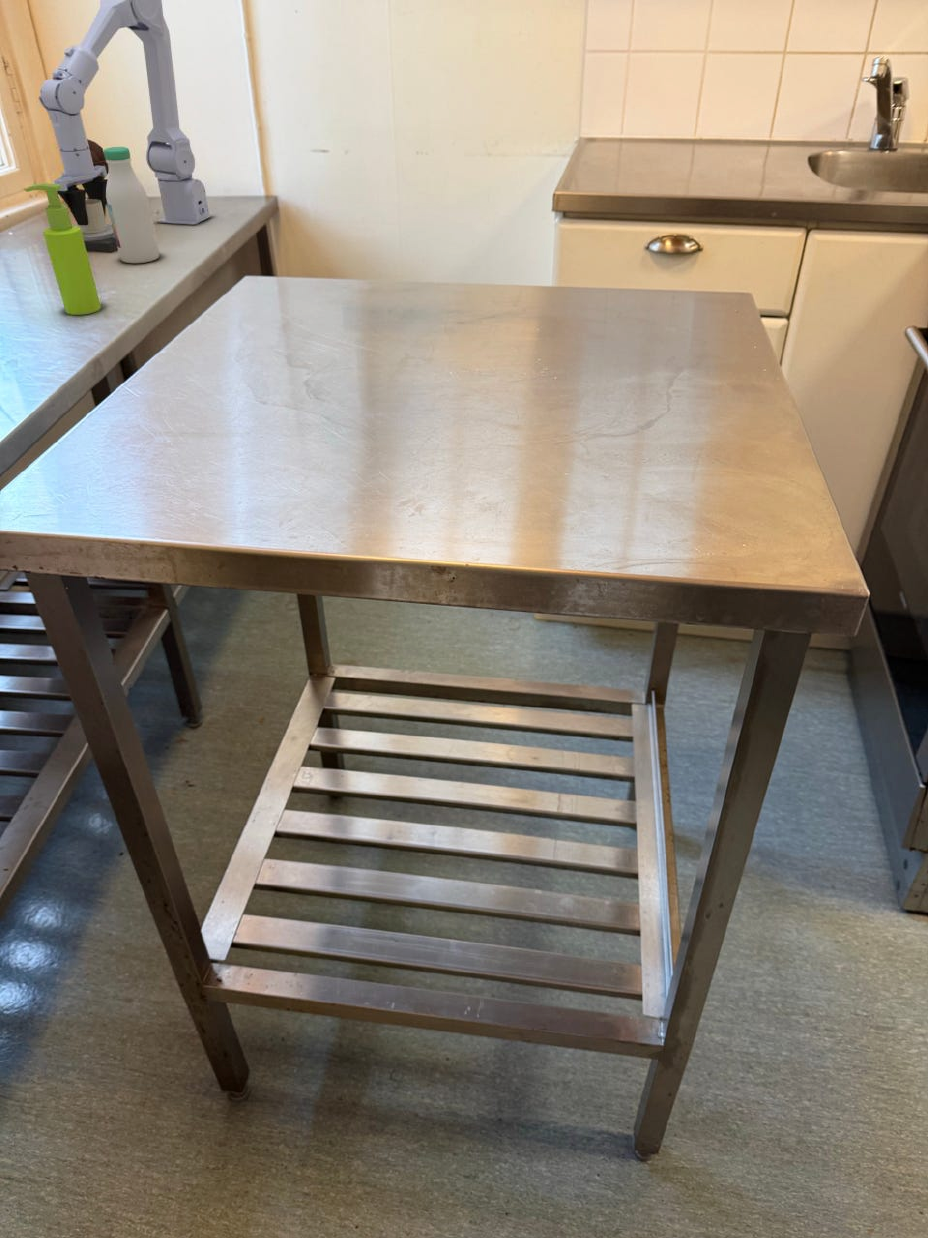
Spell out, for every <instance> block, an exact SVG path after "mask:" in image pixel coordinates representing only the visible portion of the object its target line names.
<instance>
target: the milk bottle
mask: <svg viewBox="0 0 928 1238" xmlns="http://www.w3.org/2000/svg"><path fill="white" fill-rule="evenodd" d="M103 152H104V155H105V158H106V162H107V163H108V167H109V173H108V175H107V179H108V181H107V187H106V198H107V203H106V204H107V208H108V213H109V218H110V223H111V225H112V227H113V231H114V235H115V240H116V244H117V248H118V249H117V251H118V256H119V259H120V261H122V262H123V263H127V264H144V263H148V262H153V261H155V260H157V259H159V258H160V250H159V246H158V240H157V235H156V230H155V226H154V220H153V216H152V212H151V208H150V203H149V200H148V195H147V192H146V190H145V188H144V186H143V184H142V182H141V181H140V179H139V178H138V176H137V175H136V173H135V171H134V169H133V166H132V163H131V162H132V159H131V151H130V148H128V147H126V146H112V147H107V148H103Z"/></svg>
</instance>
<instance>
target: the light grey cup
mask: <svg viewBox="0 0 928 1238" xmlns="http://www.w3.org/2000/svg"><path fill="white" fill-rule="evenodd" d="M85 203H86V211H87V216H88V225H78V224H77V226H78V227H80V228H81V231H82V233H86V234H93V233H100V232H104V231H106V230H107V229H108V228H107V225H108V223H107V220H106V217H105V215H104V211H103V207H102V203H101V200H98V199H88V198H85Z"/></svg>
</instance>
